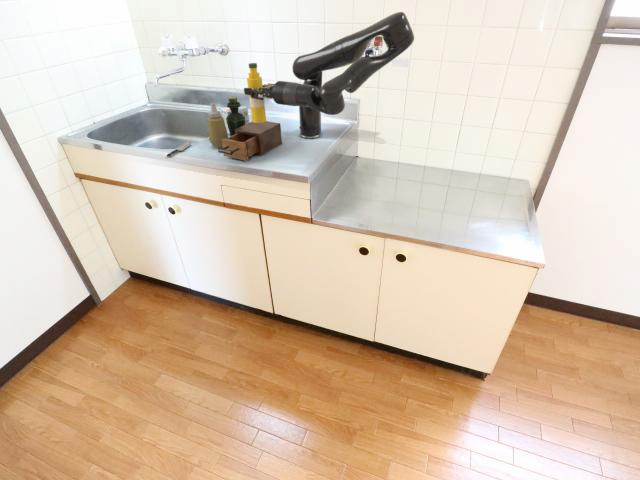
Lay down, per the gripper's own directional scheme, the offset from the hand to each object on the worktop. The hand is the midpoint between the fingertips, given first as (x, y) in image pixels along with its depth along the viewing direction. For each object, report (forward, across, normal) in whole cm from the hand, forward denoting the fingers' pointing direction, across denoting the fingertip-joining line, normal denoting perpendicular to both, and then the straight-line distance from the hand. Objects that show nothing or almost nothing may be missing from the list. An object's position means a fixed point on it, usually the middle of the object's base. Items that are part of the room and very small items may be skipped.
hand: (249, 89), depth 134 cm
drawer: (+6, -3, -25) cm, 26 cm away
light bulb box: (+28, +22, -26) cm, 44 cm away
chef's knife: (+34, -7, -26) cm, 43 cm away
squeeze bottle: (+22, +3, -26) cm, 34 cm away
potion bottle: (+20, +13, -26) cm, 35 cm away
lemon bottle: (-3, 0, -11) cm, 11 cm away
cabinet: (+6, +10, -26) cm, 28 cm away
